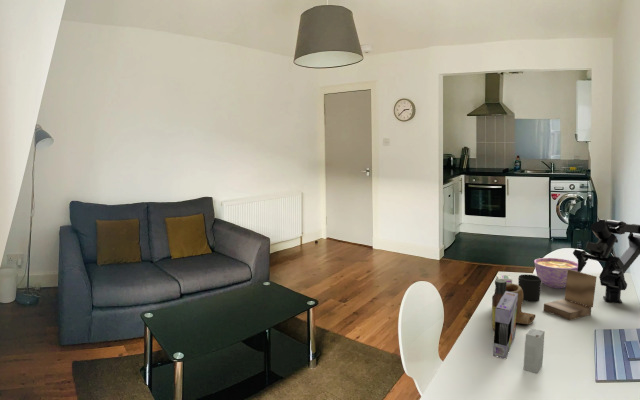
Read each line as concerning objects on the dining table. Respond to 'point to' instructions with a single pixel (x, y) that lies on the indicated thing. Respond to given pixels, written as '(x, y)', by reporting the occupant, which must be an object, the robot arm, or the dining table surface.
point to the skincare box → (534, 350)
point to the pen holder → (530, 287)
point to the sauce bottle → (497, 297)
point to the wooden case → (567, 309)
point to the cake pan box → (505, 324)
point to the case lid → (580, 288)
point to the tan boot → (520, 305)
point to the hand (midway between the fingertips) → (588, 275)
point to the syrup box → (504, 278)
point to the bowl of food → (554, 271)
